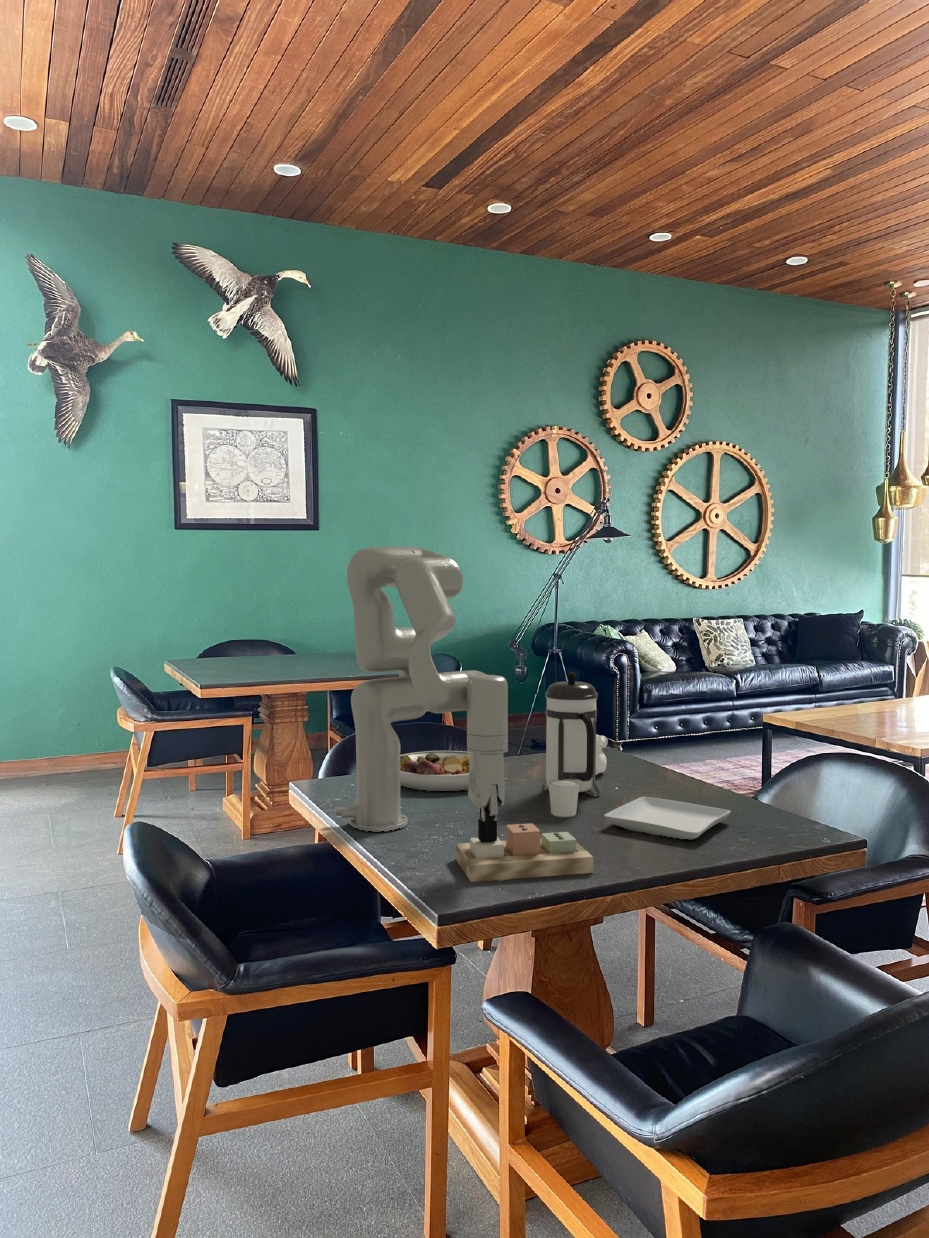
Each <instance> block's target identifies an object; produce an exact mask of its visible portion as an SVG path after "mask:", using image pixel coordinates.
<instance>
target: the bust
mask: <svg viewBox="0 0 929 1238" xmlns="http://www.w3.org/2000/svg"><path fill="white" fill-rule="evenodd" d="M608 741H609V740H608V738H607V737H606V736H604V735H602V734H601V735H599V734H596V774H595V776H597V775H599V774H602V773H603V772H605V771H606V769H607V764H608V762H607V760H608V759H607V757H606V755H605V753H604V751H603V750H602V749H604V748H606V747H607V746H608V743H609V742H608Z"/></svg>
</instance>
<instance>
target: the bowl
mask: <svg viewBox="0 0 929 1238" xmlns="http://www.w3.org/2000/svg"><path fill="white" fill-rule="evenodd" d="M469 759H470V752H468V751H462V750H426V751H416V752H409V753H403V754H400V784H401V787H402V786H404V787H403V788H405V787H409V788H413V789H419V790H418V791H420V790H430V791H455V792H459V791H458V790H465V791H468V779H469ZM413 789H412V790H413ZM430 791H429V792H430Z"/></svg>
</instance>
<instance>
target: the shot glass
mask: <svg viewBox="0 0 929 1238" xmlns="http://www.w3.org/2000/svg"><path fill="white" fill-rule="evenodd" d="M548 788H549V789H548V791H549V792H548V794H549V802H550V814H551V815H552V814H553V816H555V817H559V818H560V817H561V818H569V817H570V818H571V817H574V816H576V815H577V807H578V799H579V792H578V790H579V783H577V782H575V781H569V780H555V781H551V782H549V786H548Z"/></svg>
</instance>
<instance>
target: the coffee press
mask: <svg viewBox="0 0 929 1238" xmlns="http://www.w3.org/2000/svg"><path fill="white" fill-rule="evenodd" d="M566 678H567V681H565V680H564V681H558V682H554V683H552V684H550V685H549V686H548V688H547V690H546V692H545V693H544V695H545V698H546V707H545V716H546V731H545V732H546V735H545V736H546V743H545V744H546V747H545V749H546V750H545V751H546V753H545V754H546V758H545V759H546V760H545V762H546V763H545V767H546V768H545V769H546V770H545V773H546V774H545V776H546V777H545V781H544V783H542V786H541V789H542V790H543V791H547V790H549V782H551V781H555V780H569V781H575V782H577V783H579V790H578V793H583V792H586V793H587V792H588V793H590V795H591V796H592V797H594V798H596V797H597V798H598V796H600V795H601V792H600V790H599V789H598V786H597V783H596V775H595V774H596V735H597V717H598V708H597V699H598V697H599V696H598V695H599V694H598V692H597V691H596V688H595V687H594V685H592V684H590V683H587V682H584V681H575V680H576V679H577V675H576V673H575V672H573V671H570V672H568V673H567V675H566ZM545 785H546V786H548V787H547V788H546V787H545ZM593 788H594V790H595V792H596V793H597V795H596V793H595V792H594V791H593V790H592V789H593Z"/></svg>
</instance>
